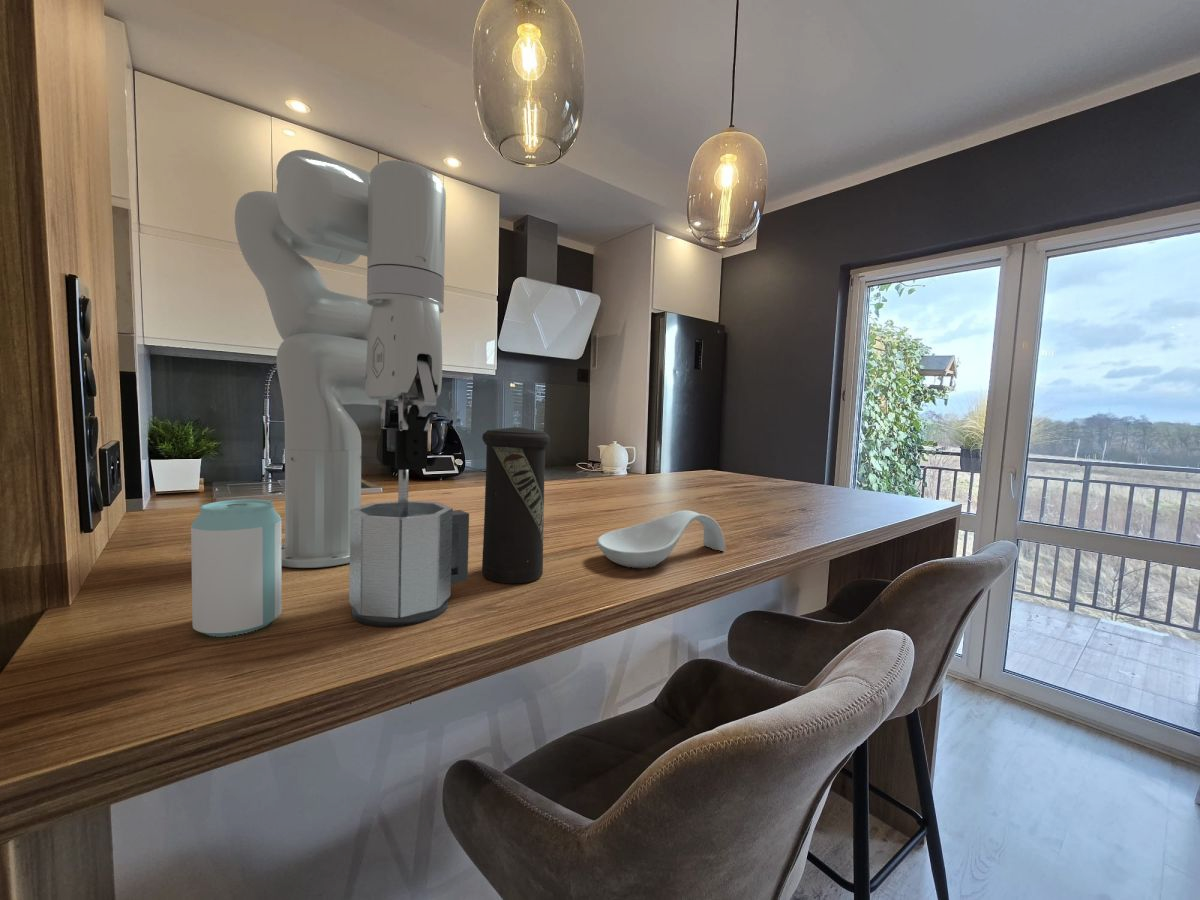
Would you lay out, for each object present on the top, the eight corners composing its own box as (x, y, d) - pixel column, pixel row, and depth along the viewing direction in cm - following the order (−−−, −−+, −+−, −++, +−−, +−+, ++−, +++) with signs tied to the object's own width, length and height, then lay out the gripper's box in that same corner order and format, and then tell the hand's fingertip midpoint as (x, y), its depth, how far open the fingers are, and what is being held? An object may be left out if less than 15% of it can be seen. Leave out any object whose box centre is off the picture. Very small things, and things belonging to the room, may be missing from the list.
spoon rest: (628, 581, 67) (631, 529, 67) (581, 558, 77) (583, 513, 76) (741, 558, 81) (744, 515, 80) (689, 541, 90) (691, 503, 90)
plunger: (359, 546, 54) (360, 426, 53) (420, 538, 59) (422, 427, 58) (380, 562, 49) (382, 429, 48) (445, 552, 54) (448, 430, 53)
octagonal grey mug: (340, 603, 55) (341, 505, 54) (444, 582, 63) (446, 497, 62) (368, 635, 47) (369, 522, 47) (482, 607, 55) (485, 510, 55)
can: (172, 634, 46) (170, 507, 45) (243, 606, 53) (242, 495, 52) (233, 645, 44) (232, 513, 44) (298, 615, 51) (298, 501, 50)
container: (511, 590, 61) (516, 429, 60) (465, 573, 66) (469, 425, 65) (558, 574, 68) (563, 429, 66) (513, 560, 73) (517, 426, 72)
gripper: (345, 298, 55) (344, 460, 57) (398, 270, 43) (395, 478, 45) (411, 310, 61) (409, 459, 62) (476, 288, 48) (472, 474, 50)
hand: (403, 465), depth 53 cm, fingers closed on plunger, 3 cm apart
